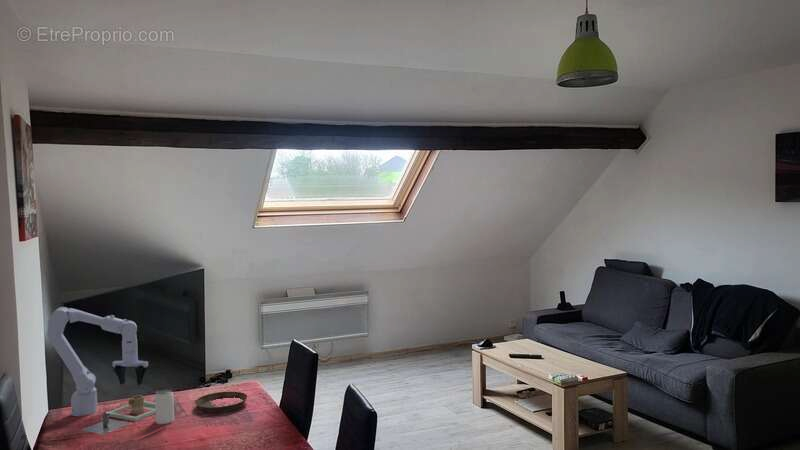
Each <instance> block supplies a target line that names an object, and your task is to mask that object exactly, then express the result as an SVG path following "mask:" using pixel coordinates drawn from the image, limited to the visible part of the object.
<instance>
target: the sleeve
mask: <svg viewBox="0 0 800 450" xmlns="http://www.w3.org/2000/svg"><path fill="white" fill-rule="evenodd" d="M144 401H145V399H144V395H134V396H132V397H131V398H130V399H128V404H129V405H131V408H130V409H131V414H132V415H136V414H137V415H138V414H139V415H140V414H143V413H145V408H144Z"/></svg>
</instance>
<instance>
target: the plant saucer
mask: <svg viewBox="0 0 800 450" xmlns="http://www.w3.org/2000/svg"><path fill="white" fill-rule="evenodd" d="M234 397H235V398H240V399H242V400H243V401H242V402H239V403H237V404H233V405H228V406H222V407H218V406H217V407H215V404H214V405H212V404H213V403H212V402H210V401H213V400H216V399H223V398H234ZM247 399H248V395H247V393H244V392H241V391H218V392H213V393H207V394H205V395H202V396H200V397H198V398H196V399H195V400H194V404H195V406H196V407H197V408H198V409H199V410H200V411H202V412H205V413H210V412H220V413H225V412H224V411H227V412H230V411H229V410H231V411H233V409H234V410H236V409H235V408H237V409H238V407H239V408H240V407H241V406H242V405H243V404H245V402H246V401H247ZM211 403H212V404H211Z"/></svg>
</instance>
